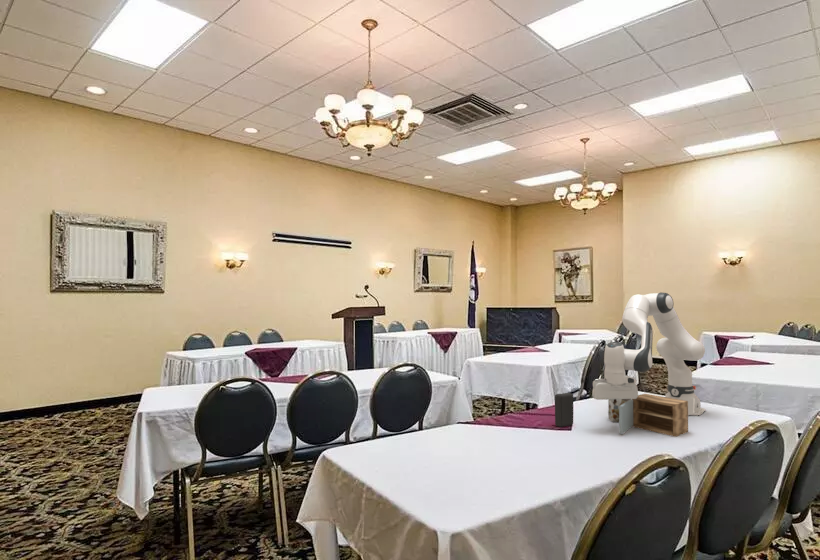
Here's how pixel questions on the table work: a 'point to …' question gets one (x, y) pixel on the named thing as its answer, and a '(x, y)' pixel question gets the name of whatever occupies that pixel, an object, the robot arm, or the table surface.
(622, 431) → the door
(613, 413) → the coffee box
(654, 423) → the cabinet
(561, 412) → the card reader
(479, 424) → the table surface
